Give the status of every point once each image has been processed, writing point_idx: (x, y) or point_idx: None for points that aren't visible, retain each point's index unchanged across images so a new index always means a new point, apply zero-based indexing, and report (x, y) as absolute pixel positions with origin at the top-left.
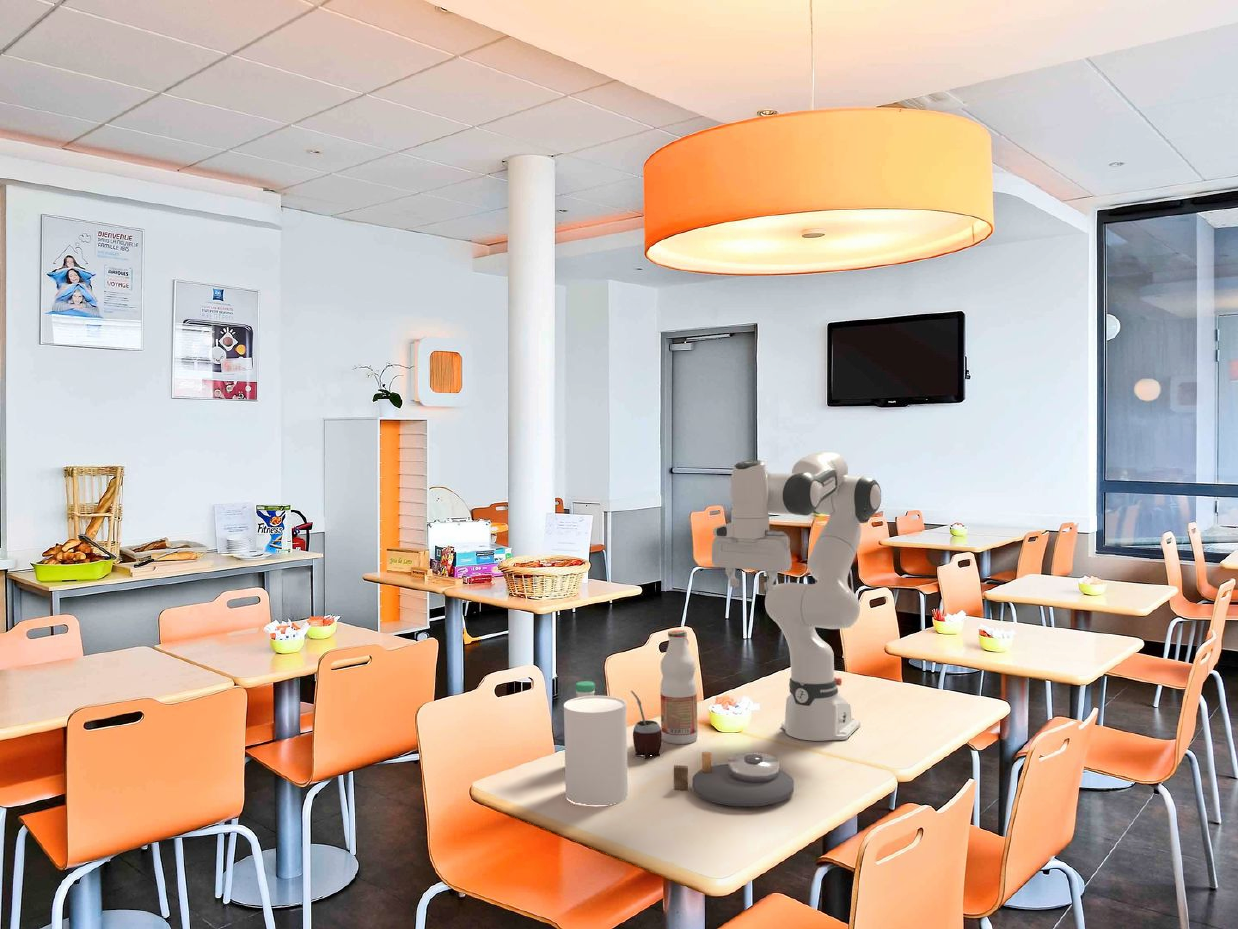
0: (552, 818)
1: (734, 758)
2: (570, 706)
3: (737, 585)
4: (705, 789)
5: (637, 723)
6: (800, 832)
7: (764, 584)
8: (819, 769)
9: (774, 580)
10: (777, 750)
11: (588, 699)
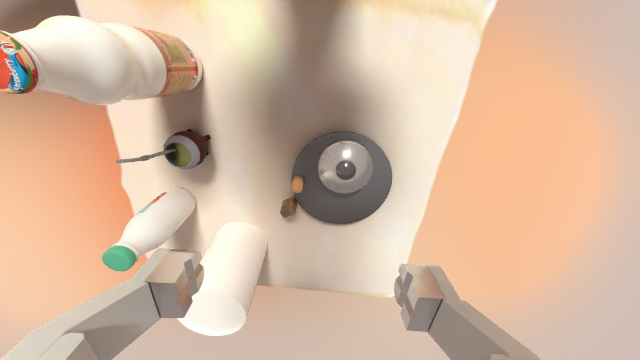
0: None
1: (323, 173)
2: (193, 322)
3: (197, 265)
4: (323, 217)
5: (169, 162)
6: (416, 223)
7: (406, 321)
8: (387, 72)
9: (479, 315)
10: (311, 28)
11: None
